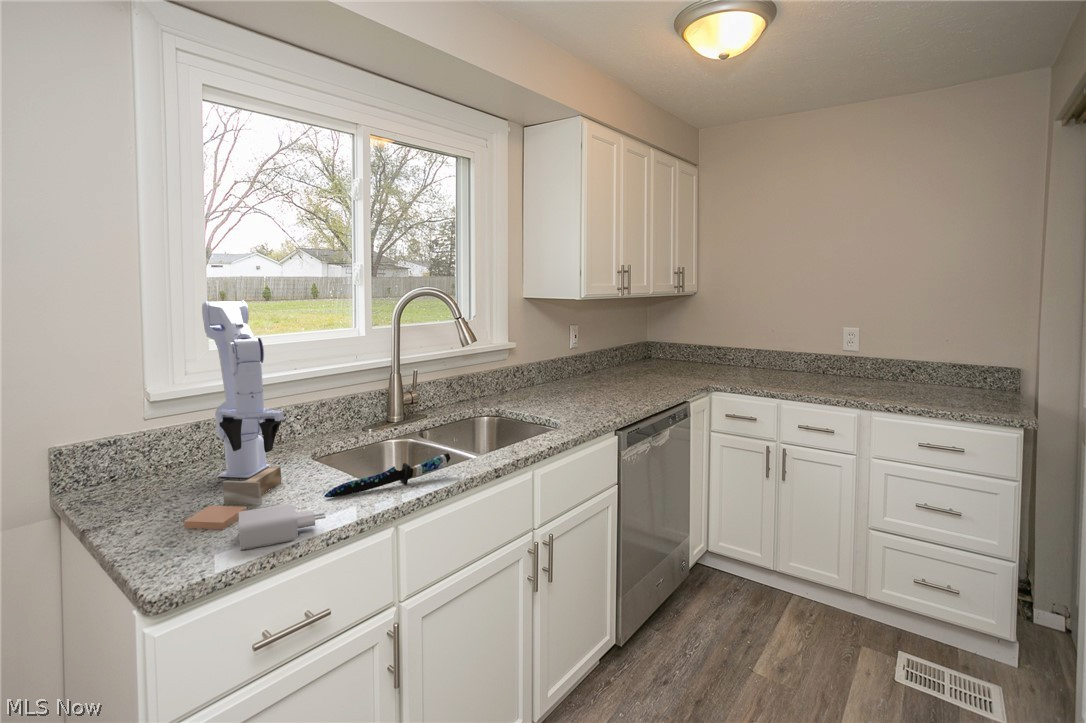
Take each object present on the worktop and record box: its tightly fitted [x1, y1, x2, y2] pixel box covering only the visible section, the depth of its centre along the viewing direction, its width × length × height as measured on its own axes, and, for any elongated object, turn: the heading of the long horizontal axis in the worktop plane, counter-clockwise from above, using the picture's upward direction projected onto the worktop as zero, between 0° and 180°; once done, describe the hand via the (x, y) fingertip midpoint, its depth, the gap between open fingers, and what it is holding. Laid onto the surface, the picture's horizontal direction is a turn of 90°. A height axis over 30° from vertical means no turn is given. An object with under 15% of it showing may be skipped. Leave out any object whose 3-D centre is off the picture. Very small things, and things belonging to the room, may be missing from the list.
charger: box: [238, 503, 327, 551], centre depth 111 cm, size 5×9×15 cm
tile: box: [183, 505, 248, 530], centre depth 117 cm, size 2×8×8 cm
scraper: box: [222, 465, 282, 506], centre depth 132 cm, size 14×8×5 cm, turn 175°
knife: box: [324, 453, 451, 499], centre depth 137 cm, size 31×3×4 cm, turn 120°
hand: (252, 450), depth 133 cm, fingers open, 7 cm apart
